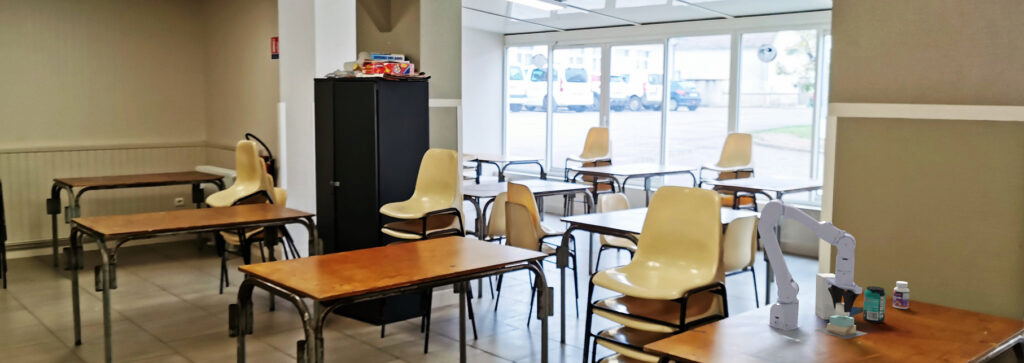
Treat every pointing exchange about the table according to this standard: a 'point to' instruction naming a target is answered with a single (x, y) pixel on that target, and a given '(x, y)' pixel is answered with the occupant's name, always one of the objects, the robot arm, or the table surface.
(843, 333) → the bottom block
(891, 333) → the table surface
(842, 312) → the white short cylinder
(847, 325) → the top block
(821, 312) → the skincare box
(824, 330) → the mat
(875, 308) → the beverage can
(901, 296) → the pill bottle
